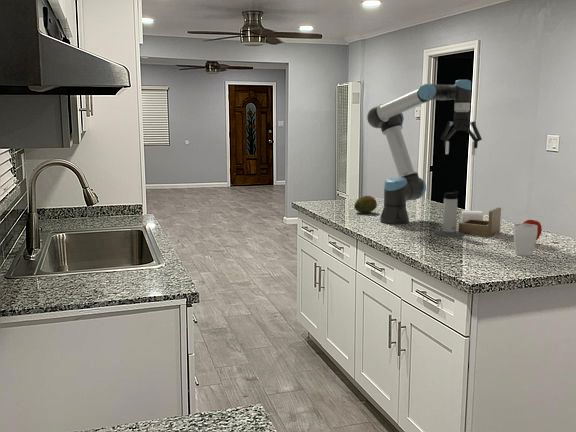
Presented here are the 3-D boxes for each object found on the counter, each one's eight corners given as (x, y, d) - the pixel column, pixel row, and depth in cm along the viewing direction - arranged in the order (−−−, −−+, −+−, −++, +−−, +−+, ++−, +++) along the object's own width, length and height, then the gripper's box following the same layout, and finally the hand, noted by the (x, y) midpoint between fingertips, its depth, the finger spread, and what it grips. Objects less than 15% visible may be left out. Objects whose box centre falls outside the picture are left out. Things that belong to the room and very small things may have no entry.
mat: (429, 234, 276) (429, 233, 276) (440, 230, 287) (440, 229, 287) (458, 238, 268) (458, 237, 268) (468, 233, 279) (468, 232, 279)
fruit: (379, 213, 338) (380, 196, 337) (363, 215, 331) (364, 198, 330) (366, 210, 348) (366, 194, 346) (350, 212, 341) (350, 195, 339)
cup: (508, 252, 240) (509, 223, 238) (529, 251, 241) (531, 223, 239) (518, 257, 231) (520, 227, 229) (540, 256, 232) (542, 227, 230)
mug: (482, 228, 293) (483, 212, 291) (462, 227, 294) (462, 211, 293) (479, 223, 304) (480, 208, 303) (460, 223, 306) (460, 208, 305)
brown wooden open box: (458, 233, 279) (459, 208, 277) (468, 228, 290) (469, 205, 288) (490, 237, 270) (492, 211, 268) (499, 232, 281) (501, 207, 279)
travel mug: (456, 234, 273) (458, 192, 270) (442, 233, 276) (443, 192, 272) (457, 232, 279) (458, 191, 276) (442, 231, 281) (444, 190, 278)
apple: (517, 241, 260) (518, 217, 259) (536, 241, 260) (537, 217, 258) (524, 245, 252) (525, 221, 250) (544, 245, 252) (545, 221, 250)
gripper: (435, 111, 291) (433, 154, 295) (484, 111, 277) (482, 155, 280) (440, 111, 297) (439, 153, 301) (489, 111, 283) (487, 155, 286)
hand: (460, 154), depth 290 cm, fingers open, 13 cm apart
